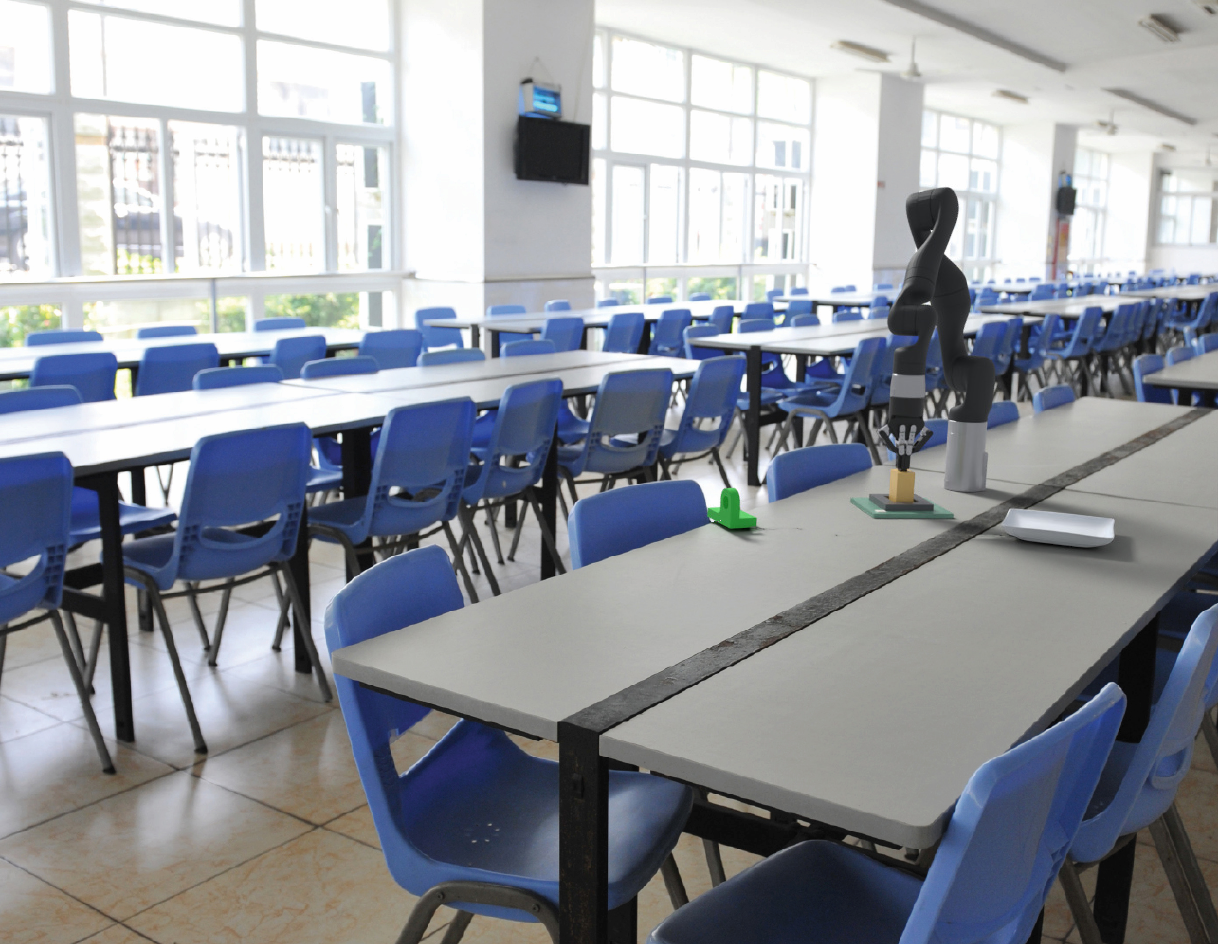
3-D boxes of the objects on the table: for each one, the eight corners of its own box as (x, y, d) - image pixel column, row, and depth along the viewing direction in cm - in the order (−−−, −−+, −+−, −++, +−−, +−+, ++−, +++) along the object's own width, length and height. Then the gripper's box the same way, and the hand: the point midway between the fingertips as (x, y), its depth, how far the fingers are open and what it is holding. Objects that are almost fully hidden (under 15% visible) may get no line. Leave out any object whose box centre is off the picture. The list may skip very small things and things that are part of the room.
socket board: (925, 502, 265) (925, 491, 265) (953, 518, 247) (954, 507, 247) (850, 501, 264) (850, 491, 263) (873, 518, 246) (874, 506, 246)
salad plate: (1113, 532, 238) (1115, 516, 238) (1113, 553, 219) (1114, 536, 218) (1008, 522, 247) (1009, 506, 246) (998, 541, 228) (1000, 525, 227)
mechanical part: (756, 527, 236) (757, 489, 235) (730, 528, 234) (731, 490, 233) (732, 515, 247) (733, 479, 246) (707, 516, 245) (708, 480, 244)
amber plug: (905, 503, 258) (907, 468, 256) (913, 507, 253) (915, 472, 252) (888, 503, 258) (890, 468, 256) (895, 507, 253) (897, 472, 251)
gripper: (930, 393, 255) (925, 468, 258) (873, 392, 254) (868, 467, 257) (942, 396, 248) (936, 474, 251) (883, 395, 247) (878, 473, 250)
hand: (902, 470), depth 254 cm, fingers closed
